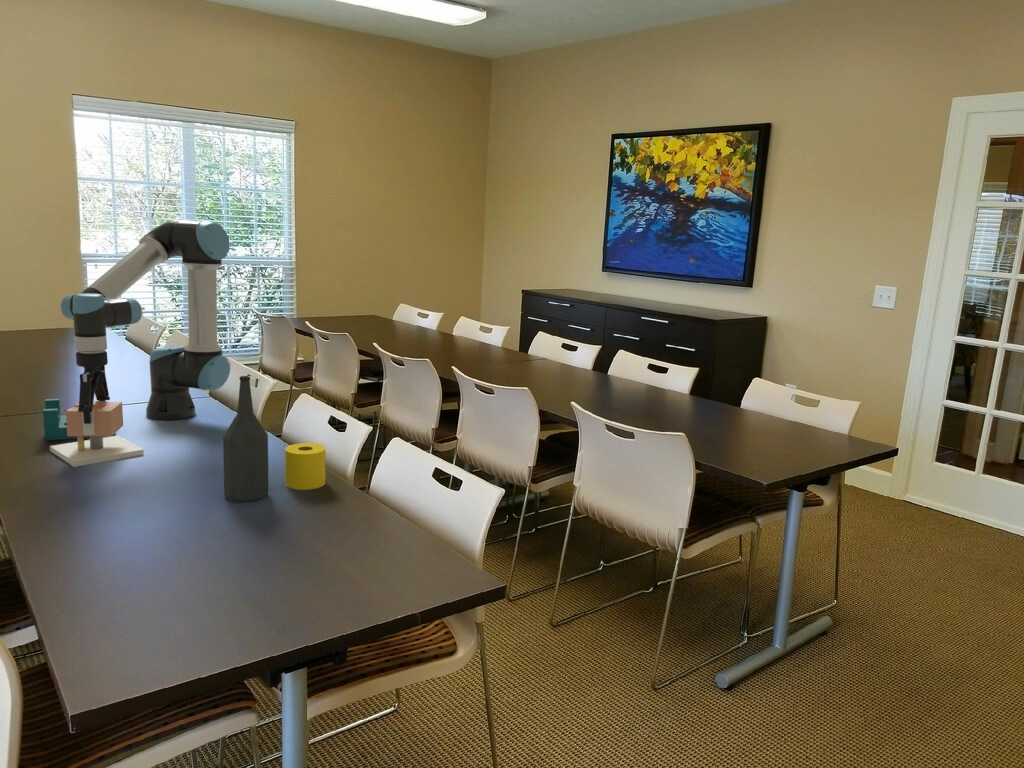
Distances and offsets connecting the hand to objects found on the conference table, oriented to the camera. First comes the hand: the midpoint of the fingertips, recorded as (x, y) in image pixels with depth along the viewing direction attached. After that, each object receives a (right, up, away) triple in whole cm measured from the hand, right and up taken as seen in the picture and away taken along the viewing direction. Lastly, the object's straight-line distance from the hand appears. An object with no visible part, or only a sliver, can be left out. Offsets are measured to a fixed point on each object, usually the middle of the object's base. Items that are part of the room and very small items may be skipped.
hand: (95, 428), depth 213 cm
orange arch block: (0, -1, 0) cm, 1 cm away
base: (0, -7, +1) cm, 7 cm away
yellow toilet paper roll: (+62, -14, -14) cm, 65 cm away
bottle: (+50, -15, -25) cm, 58 cm away
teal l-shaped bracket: (-13, -3, +17) cm, 22 cm away
